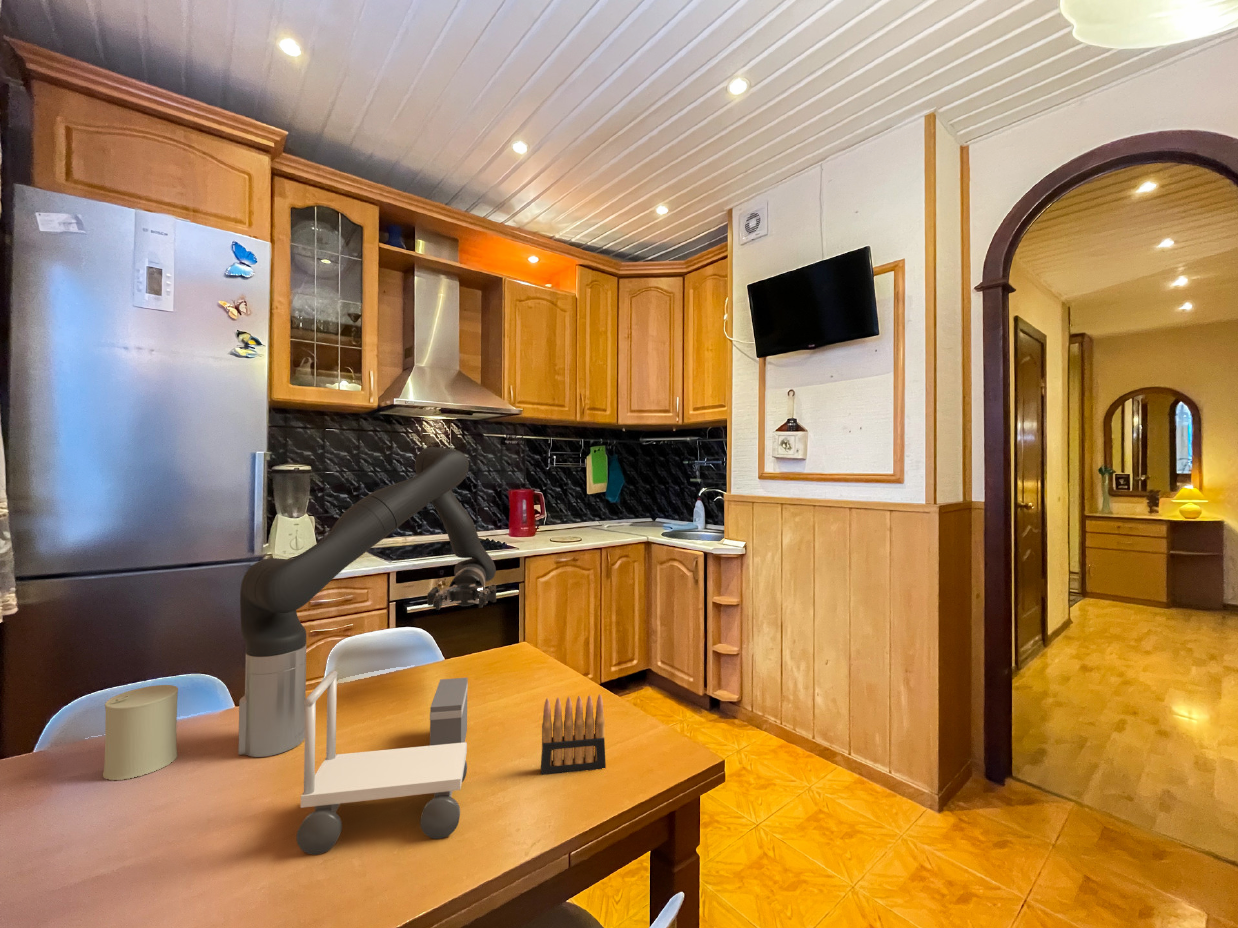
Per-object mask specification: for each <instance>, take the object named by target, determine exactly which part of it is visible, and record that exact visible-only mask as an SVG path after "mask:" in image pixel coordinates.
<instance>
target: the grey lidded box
mask: <svg viewBox="0 0 1238 928" xmlns="http://www.w3.org/2000/svg"><path fill="white" fill-rule="evenodd" d="M468 678H469V677H457V678H443V679H440V680H439V682H438V685H437V687H436V690H435V693H434V696H433V699H432V701H431V704H430V713H429V746H432V745H442V744H453V743H464V742H466V738H467V733H468V690H469V689H468V686H469V685H468Z"/></svg>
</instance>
